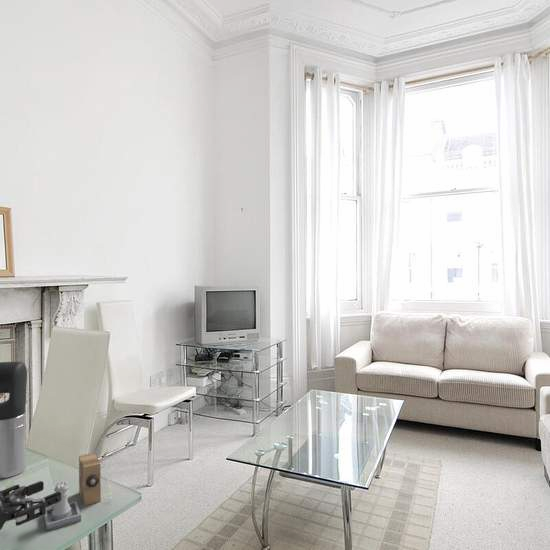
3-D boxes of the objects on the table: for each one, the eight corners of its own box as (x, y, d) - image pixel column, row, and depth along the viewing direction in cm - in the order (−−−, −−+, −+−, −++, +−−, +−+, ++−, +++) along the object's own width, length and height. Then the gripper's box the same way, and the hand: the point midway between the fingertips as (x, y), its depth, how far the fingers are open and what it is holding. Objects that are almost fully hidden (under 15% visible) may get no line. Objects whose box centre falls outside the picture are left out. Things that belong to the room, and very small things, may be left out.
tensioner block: (79, 492, 117) (78, 456, 117) (94, 488, 119) (94, 452, 119) (84, 507, 109) (84, 468, 109) (101, 502, 111) (101, 464, 111)
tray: (43, 515, 106) (43, 509, 106) (76, 506, 110) (76, 501, 110) (46, 531, 99) (46, 524, 99) (81, 520, 103) (81, 514, 103)
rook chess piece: (75, 515, 105) (75, 483, 105) (57, 524, 101) (57, 490, 101) (65, 509, 107) (65, 478, 107) (47, 518, 104) (47, 485, 104)
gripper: (-14, 516, 85) (66, 483, 98) (-40, 494, 93) (37, 466, 106) (-14, 553, 85) (66, 515, 98) (-40, 528, 93) (37, 496, 106)
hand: (51, 490), depth 102 cm, fingers open, 8 cm apart
